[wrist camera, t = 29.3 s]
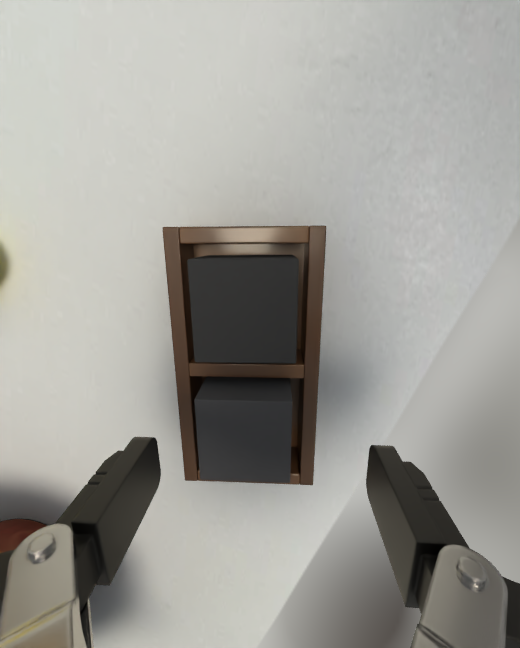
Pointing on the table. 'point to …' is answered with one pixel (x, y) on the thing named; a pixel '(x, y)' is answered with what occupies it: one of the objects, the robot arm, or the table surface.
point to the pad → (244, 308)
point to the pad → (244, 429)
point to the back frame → (302, 374)
